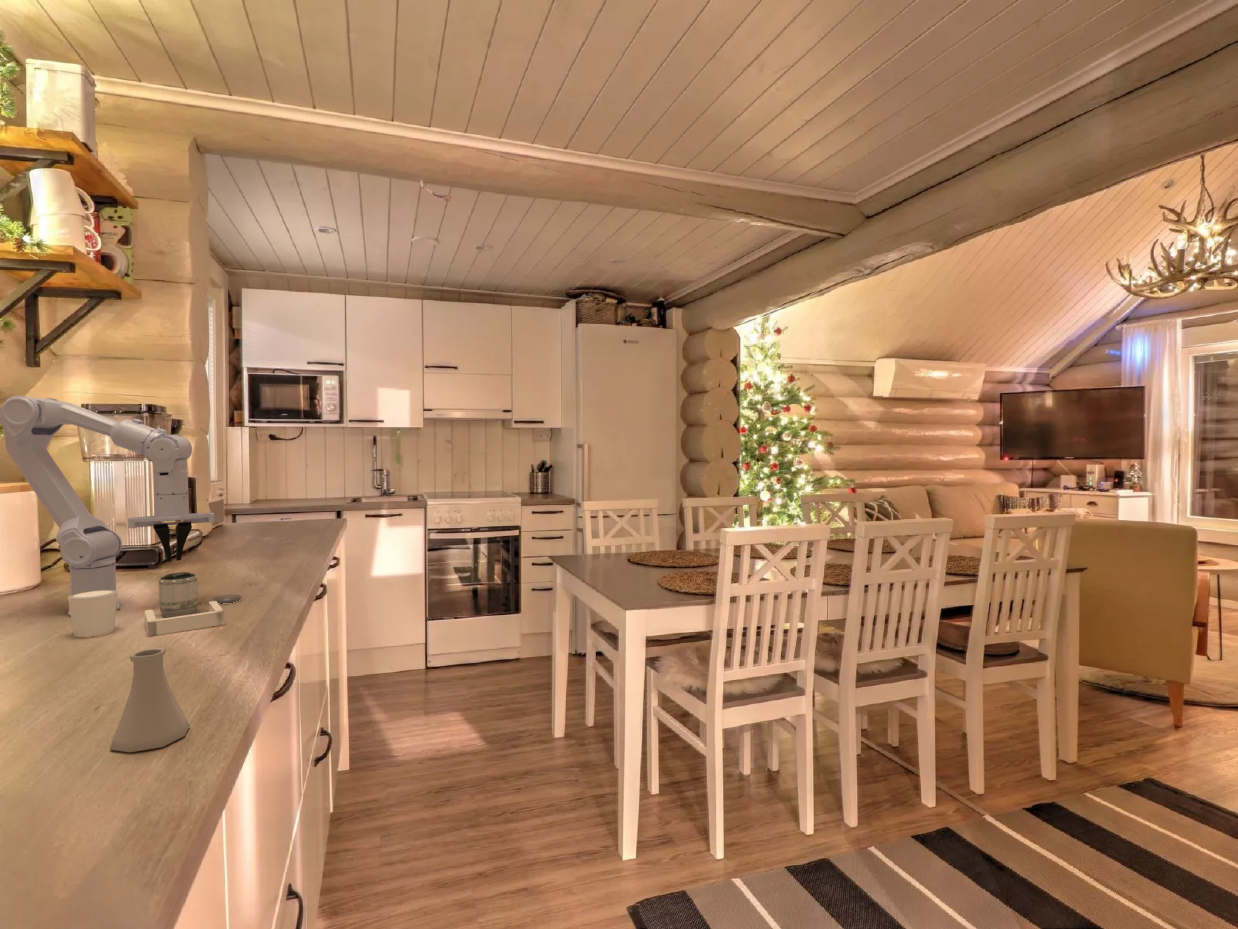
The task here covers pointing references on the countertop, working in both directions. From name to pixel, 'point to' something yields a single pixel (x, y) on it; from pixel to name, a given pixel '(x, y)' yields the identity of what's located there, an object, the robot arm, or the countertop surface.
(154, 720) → the flask
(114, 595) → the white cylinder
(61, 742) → the countertop surface
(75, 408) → the robot arm
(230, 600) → the grey round disc
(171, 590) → the camera lens
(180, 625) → the cradle
